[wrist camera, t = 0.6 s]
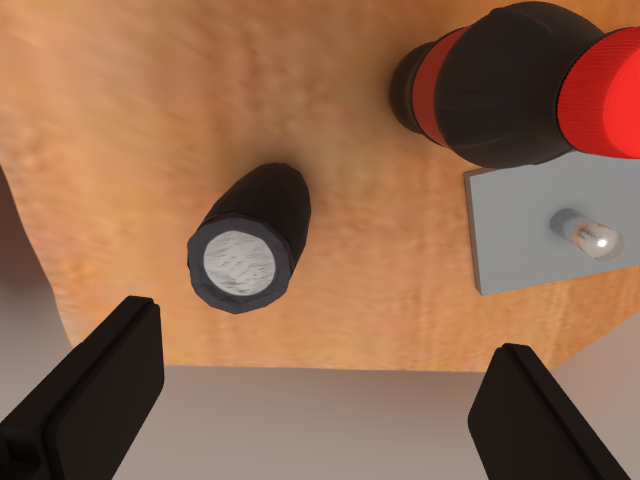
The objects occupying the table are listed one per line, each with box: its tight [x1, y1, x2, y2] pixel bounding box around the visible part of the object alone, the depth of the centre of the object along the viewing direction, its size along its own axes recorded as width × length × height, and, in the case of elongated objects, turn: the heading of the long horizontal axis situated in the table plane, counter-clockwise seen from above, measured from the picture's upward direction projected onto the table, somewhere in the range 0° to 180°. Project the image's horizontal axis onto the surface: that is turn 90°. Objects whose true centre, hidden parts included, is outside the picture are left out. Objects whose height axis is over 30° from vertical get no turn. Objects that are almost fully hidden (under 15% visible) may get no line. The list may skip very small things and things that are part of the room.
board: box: [464, 149, 640, 296], centre depth 42 cm, size 16×20×2 cm
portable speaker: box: [187, 163, 311, 314], centre depth 34 cm, size 9×9×20 cm
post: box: [550, 208, 625, 261], centre depth 38 cm, size 3×3×7 cm
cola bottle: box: [390, 1, 640, 169], centre depth 24 cm, size 8×8×30 cm
